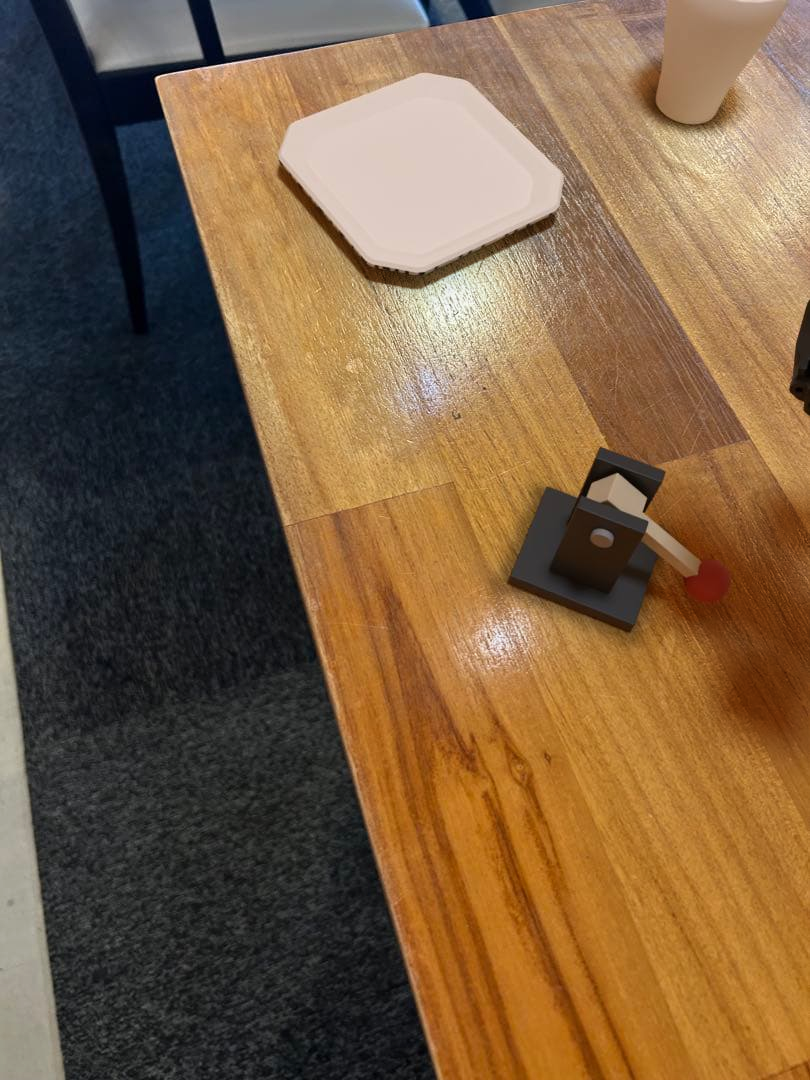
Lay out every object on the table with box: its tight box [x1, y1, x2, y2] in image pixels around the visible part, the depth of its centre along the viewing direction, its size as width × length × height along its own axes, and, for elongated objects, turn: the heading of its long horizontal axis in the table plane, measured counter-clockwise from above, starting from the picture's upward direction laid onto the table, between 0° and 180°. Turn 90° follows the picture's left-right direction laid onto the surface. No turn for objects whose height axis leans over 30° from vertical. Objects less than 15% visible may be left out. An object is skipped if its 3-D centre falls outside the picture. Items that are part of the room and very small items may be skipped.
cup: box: [655, 0, 790, 125], centre depth 87 cm, size 10×10×14 cm
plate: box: [277, 72, 565, 276], centre depth 84 cm, size 21×21×2 cm
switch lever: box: [587, 473, 731, 604], centre depth 62 cm, size 12×3×3 cm
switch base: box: [507, 446, 666, 633], centre depth 63 cm, size 9×8×10 cm
